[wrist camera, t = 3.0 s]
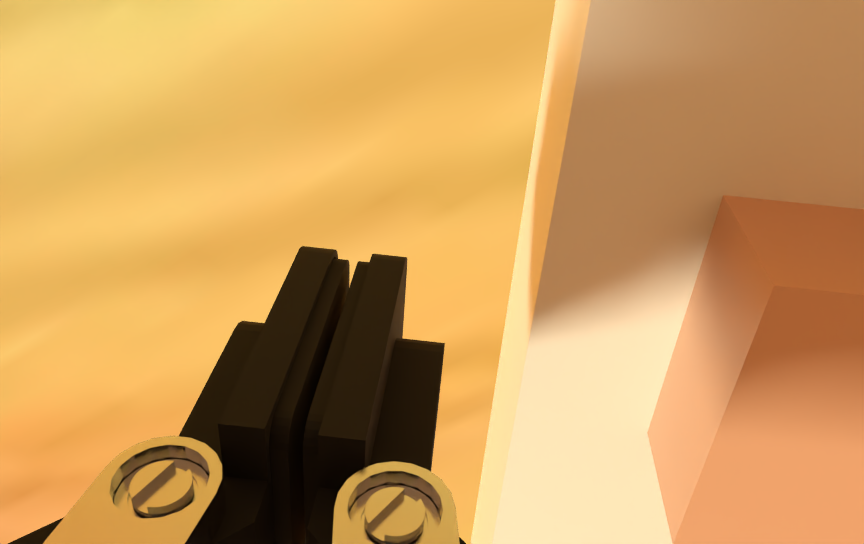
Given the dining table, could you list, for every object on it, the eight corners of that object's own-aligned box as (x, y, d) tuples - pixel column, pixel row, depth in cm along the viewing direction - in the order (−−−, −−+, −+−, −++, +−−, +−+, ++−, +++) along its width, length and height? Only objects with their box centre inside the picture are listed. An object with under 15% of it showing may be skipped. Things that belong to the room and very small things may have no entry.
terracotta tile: (723, 195, 11) (774, 285, 9) (1060, 229, 11) (1191, 329, 9) (646, 432, 14) (672, 544, 12) (916, 462, 14) (991, 582, 12)
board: (582, -173, 13) (620, -164, 9) (1280, -113, 13) (1671, -73, 8) (453, 650, 27) (444, 806, 23) (782, 690, 27) (834, 856, 22)
